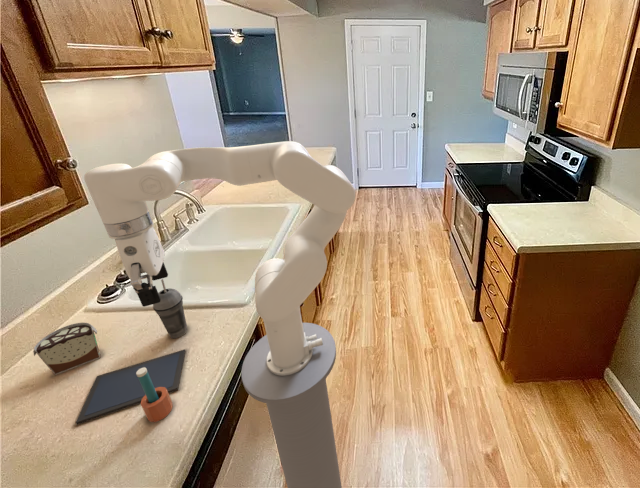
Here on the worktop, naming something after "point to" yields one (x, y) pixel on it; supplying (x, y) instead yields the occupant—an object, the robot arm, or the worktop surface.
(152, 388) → the stylus
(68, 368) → the food container
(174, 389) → the tablet
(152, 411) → the holder
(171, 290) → the beverage cup
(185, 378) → the worktop surface
